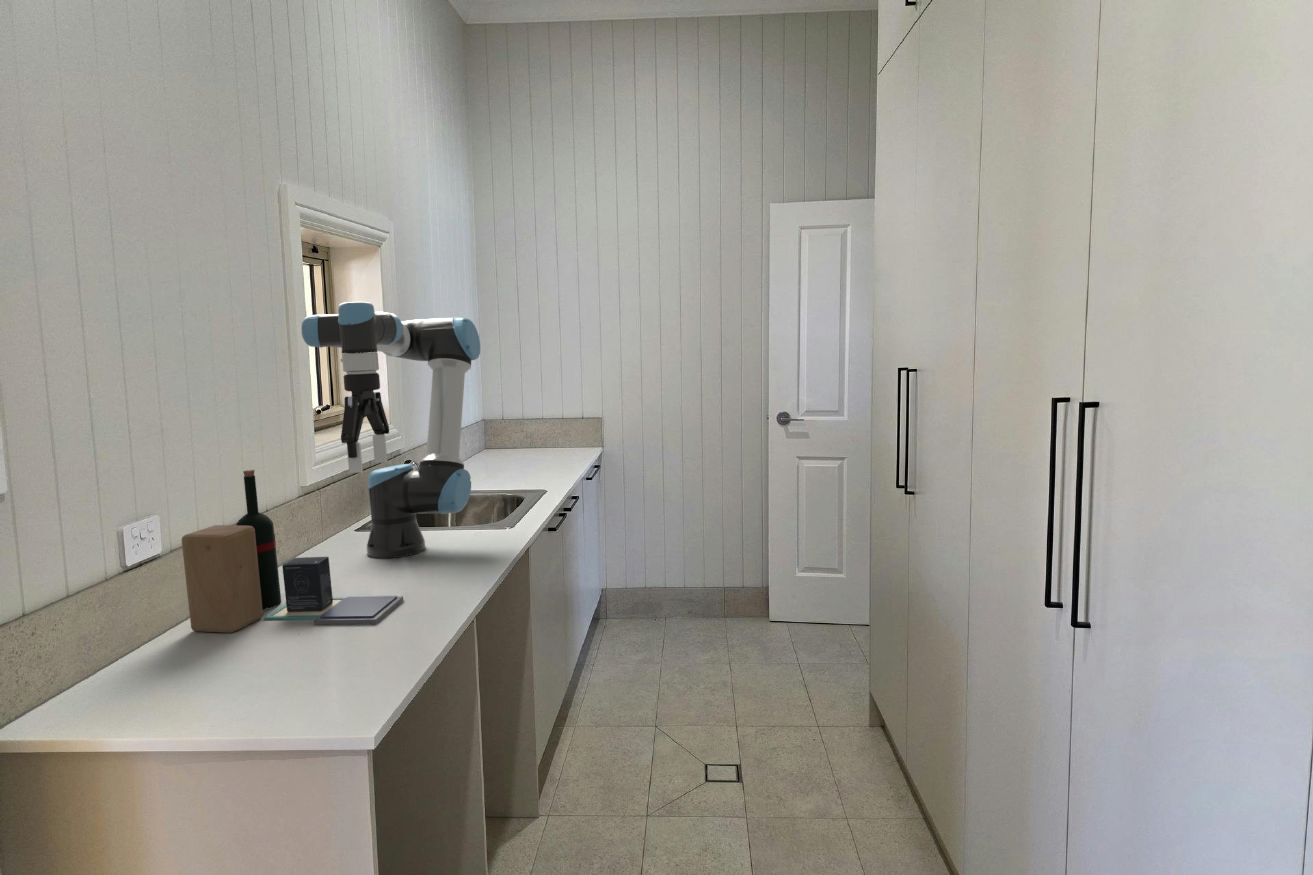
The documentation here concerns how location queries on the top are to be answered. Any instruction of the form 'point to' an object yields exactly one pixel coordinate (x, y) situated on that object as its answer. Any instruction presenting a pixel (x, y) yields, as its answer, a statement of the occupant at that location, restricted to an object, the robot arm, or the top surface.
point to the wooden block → (222, 578)
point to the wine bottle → (262, 544)
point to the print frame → (298, 612)
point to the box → (307, 584)
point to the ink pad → (359, 610)
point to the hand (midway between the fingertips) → (368, 467)
